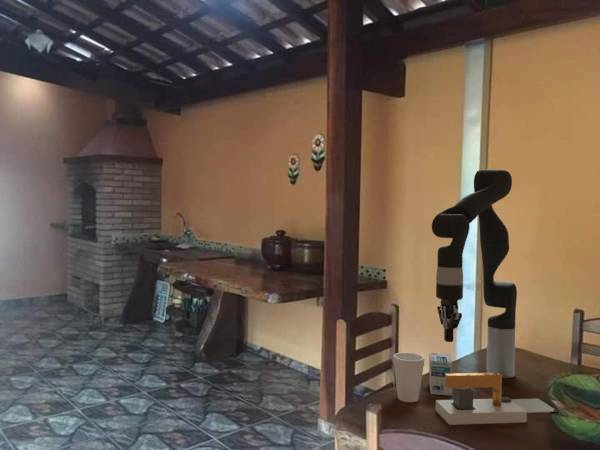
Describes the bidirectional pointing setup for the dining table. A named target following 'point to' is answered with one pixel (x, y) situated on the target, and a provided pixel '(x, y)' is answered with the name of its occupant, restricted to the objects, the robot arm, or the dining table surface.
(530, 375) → the dining table surface
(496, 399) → the orange lever handle
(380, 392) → the dining table surface
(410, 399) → the foam cup
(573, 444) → the dining table surface
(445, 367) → the light bulb box
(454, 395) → the plug
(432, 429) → the dining table surface
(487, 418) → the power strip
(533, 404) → the mat
